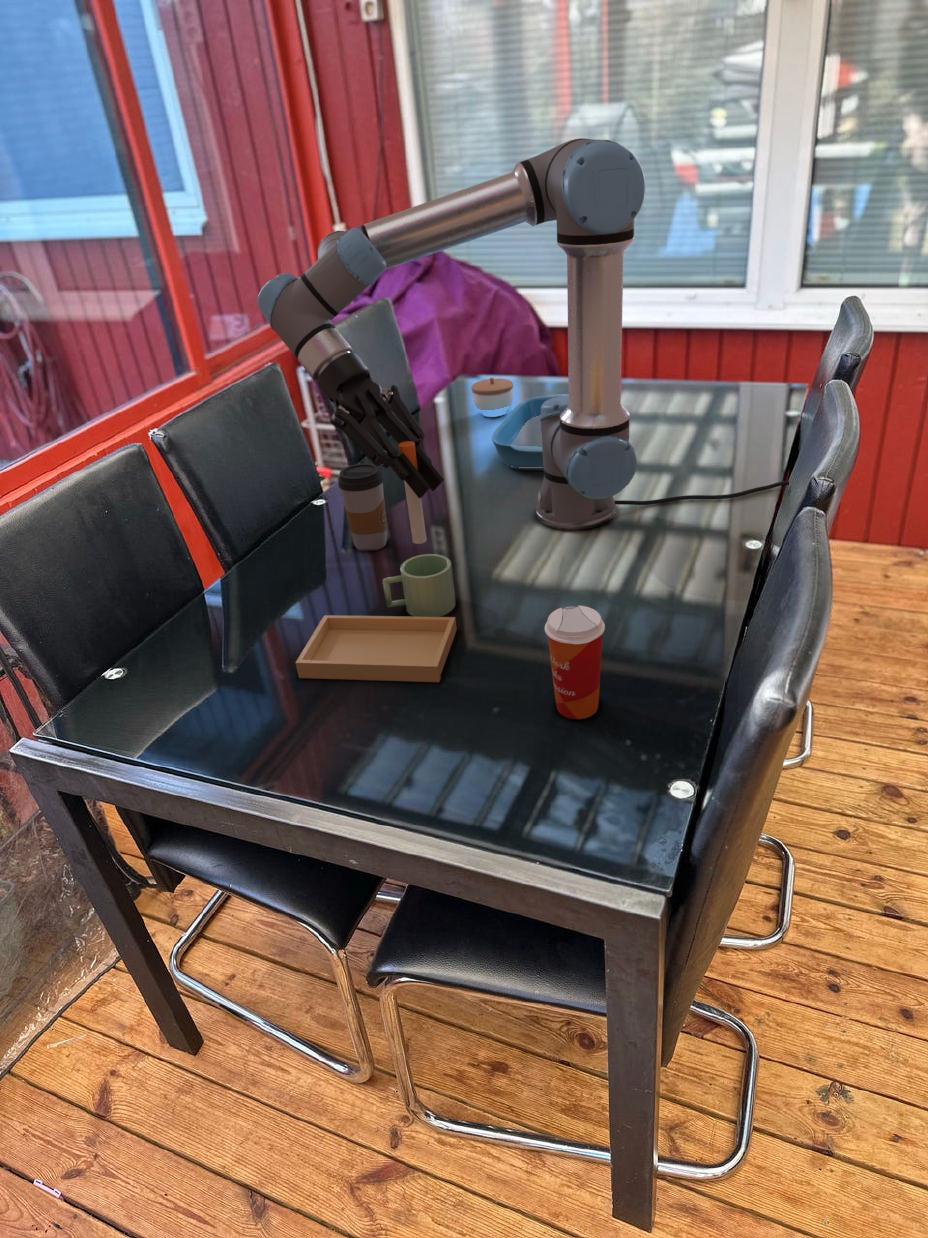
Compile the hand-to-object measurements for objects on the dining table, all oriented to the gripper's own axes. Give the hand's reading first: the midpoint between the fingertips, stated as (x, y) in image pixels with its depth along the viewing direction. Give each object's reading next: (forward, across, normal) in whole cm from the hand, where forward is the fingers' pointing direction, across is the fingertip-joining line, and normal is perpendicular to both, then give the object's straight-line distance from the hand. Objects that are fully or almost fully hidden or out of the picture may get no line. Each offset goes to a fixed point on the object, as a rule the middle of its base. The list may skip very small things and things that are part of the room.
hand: (431, 488), depth 132 cm
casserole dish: (-3, -71, -35) cm, 79 cm away
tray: (+14, +14, -17) cm, 26 cm away
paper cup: (+38, +10, +6) cm, 39 cm away
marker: (+4, 0, -10) cm, 10 cm away
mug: (+12, 0, -19) cm, 23 cm away
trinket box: (-23, -85, -55) cm, 104 cm away
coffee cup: (-5, -13, -37) cm, 40 cm away
